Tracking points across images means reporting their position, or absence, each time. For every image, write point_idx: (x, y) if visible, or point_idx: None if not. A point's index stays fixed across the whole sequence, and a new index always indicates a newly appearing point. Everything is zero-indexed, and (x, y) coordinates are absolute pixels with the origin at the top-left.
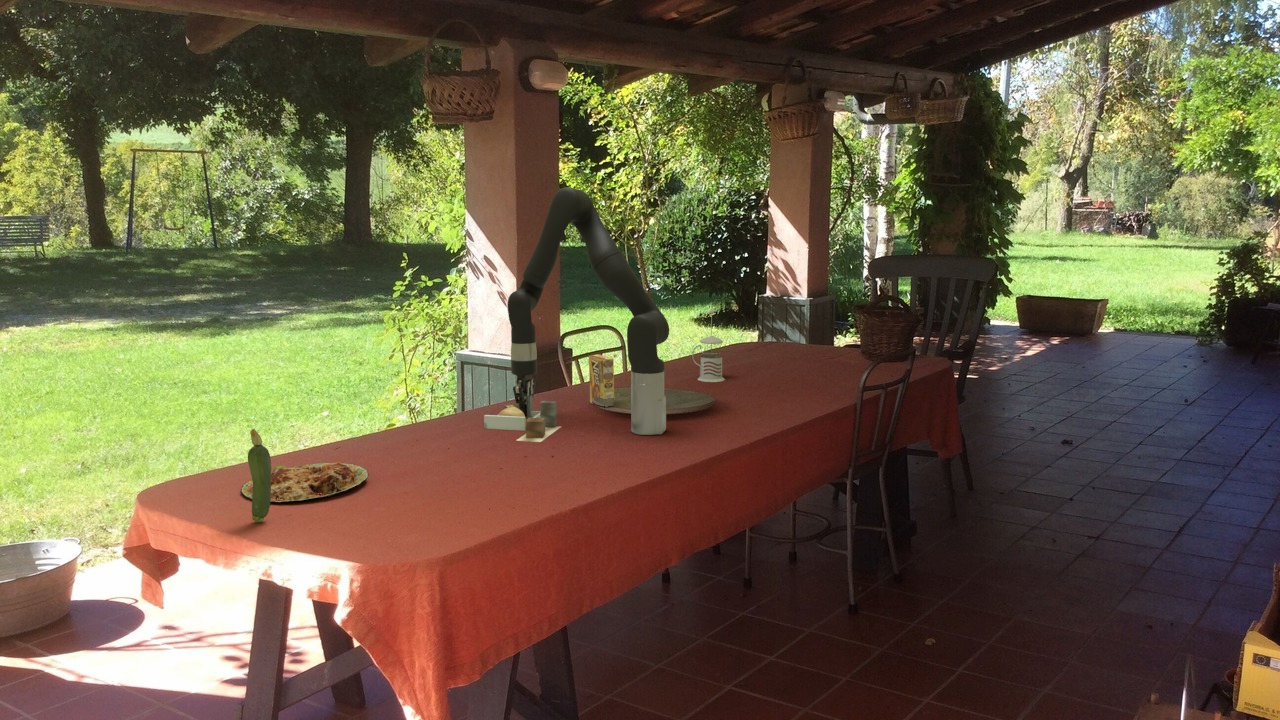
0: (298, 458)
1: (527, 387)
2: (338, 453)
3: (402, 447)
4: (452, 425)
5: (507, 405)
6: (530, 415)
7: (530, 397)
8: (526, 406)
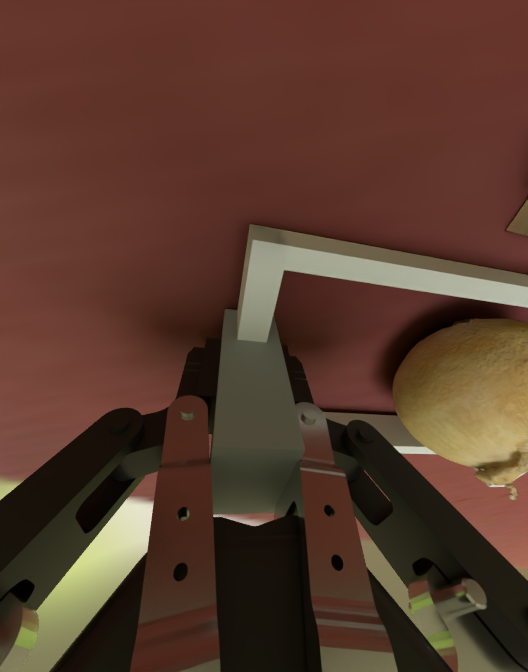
0: (496, 549)
1: (371, 609)
2: (496, 536)
3: (511, 501)
4: None
5: (509, 481)
6: (271, 328)
7: (281, 435)
8: (296, 391)
